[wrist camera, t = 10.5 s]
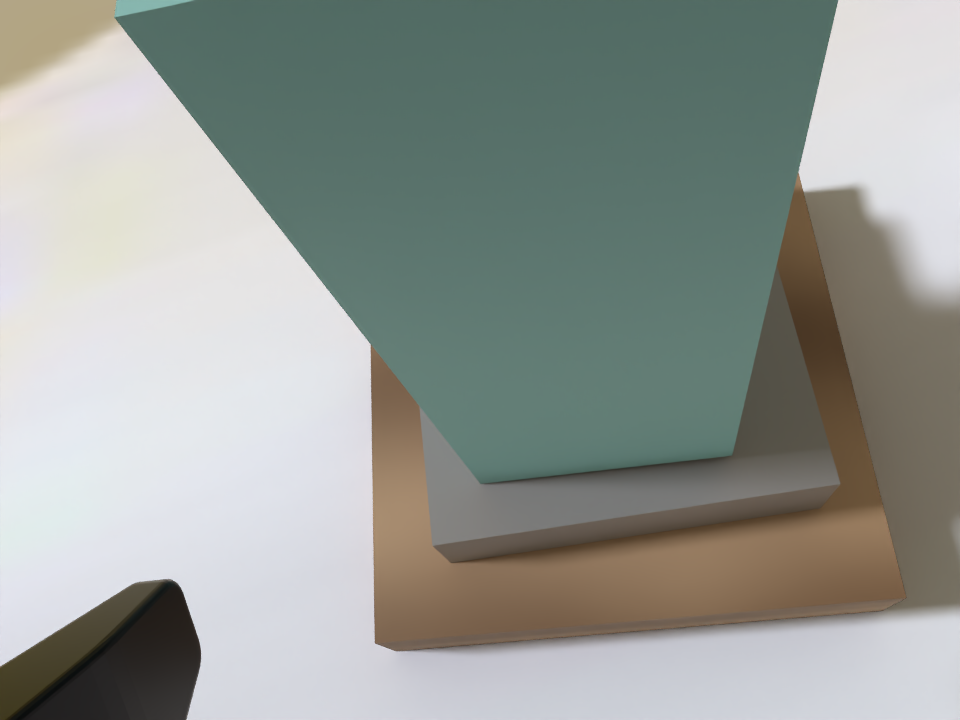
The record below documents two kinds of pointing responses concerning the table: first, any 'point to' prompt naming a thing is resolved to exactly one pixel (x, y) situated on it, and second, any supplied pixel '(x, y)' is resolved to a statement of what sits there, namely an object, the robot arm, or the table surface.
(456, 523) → the charcoal tile
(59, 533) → the table surface
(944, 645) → the table surface
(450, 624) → the walnut slab
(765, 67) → the teal pillar
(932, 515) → the table surface
